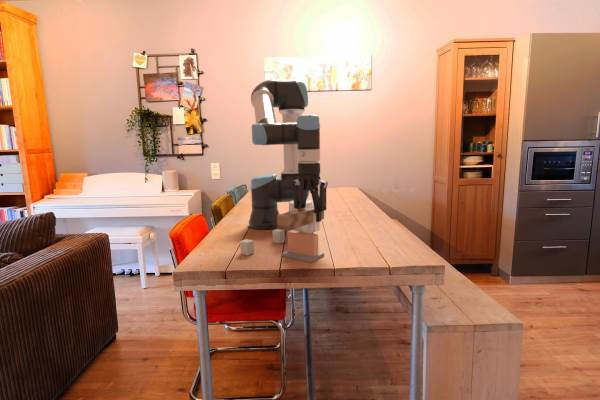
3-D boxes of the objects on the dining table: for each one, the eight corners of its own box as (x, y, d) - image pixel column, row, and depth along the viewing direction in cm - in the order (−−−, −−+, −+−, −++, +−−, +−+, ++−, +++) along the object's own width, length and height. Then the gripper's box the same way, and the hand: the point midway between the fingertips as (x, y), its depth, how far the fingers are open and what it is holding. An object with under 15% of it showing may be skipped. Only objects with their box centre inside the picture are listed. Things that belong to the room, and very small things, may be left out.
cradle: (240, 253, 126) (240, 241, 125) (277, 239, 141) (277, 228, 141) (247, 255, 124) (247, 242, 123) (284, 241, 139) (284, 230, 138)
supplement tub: (306, 233, 150) (306, 198, 148) (317, 238, 142) (317, 202, 139) (285, 236, 146) (284, 200, 144) (295, 242, 138) (294, 204, 135)
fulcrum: (281, 255, 122) (281, 233, 121) (296, 249, 128) (295, 228, 127) (310, 262, 115) (310, 238, 114) (324, 255, 121) (323, 232, 120)
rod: (288, 231, 110) (288, 216, 110) (277, 229, 113) (276, 215, 112) (324, 218, 126) (324, 206, 125) (313, 217, 129) (313, 205, 128)
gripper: (281, 162, 122) (283, 228, 126) (324, 163, 112) (325, 236, 116) (295, 161, 128) (296, 224, 132) (337, 162, 118) (337, 231, 121)
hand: (310, 229), depth 124 cm, fingers closed on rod, 4 cm apart
